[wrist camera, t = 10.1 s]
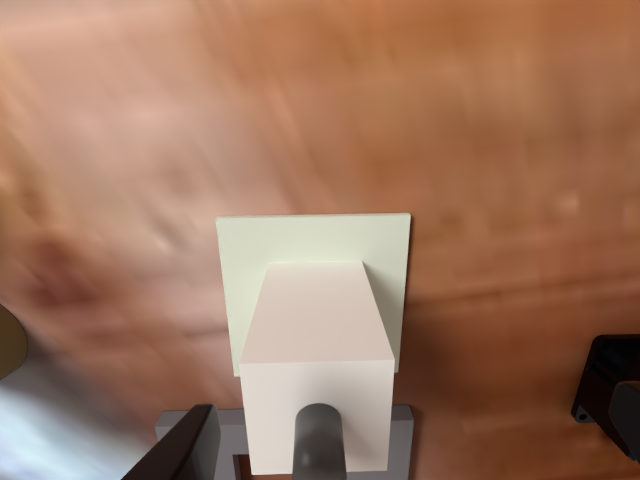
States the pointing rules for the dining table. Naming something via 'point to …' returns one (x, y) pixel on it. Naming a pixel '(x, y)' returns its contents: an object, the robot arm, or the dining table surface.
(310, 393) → the plug
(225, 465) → the gray rectangular frame
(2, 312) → the olive green tapered block
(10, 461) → the dining table surface
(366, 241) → the mat
